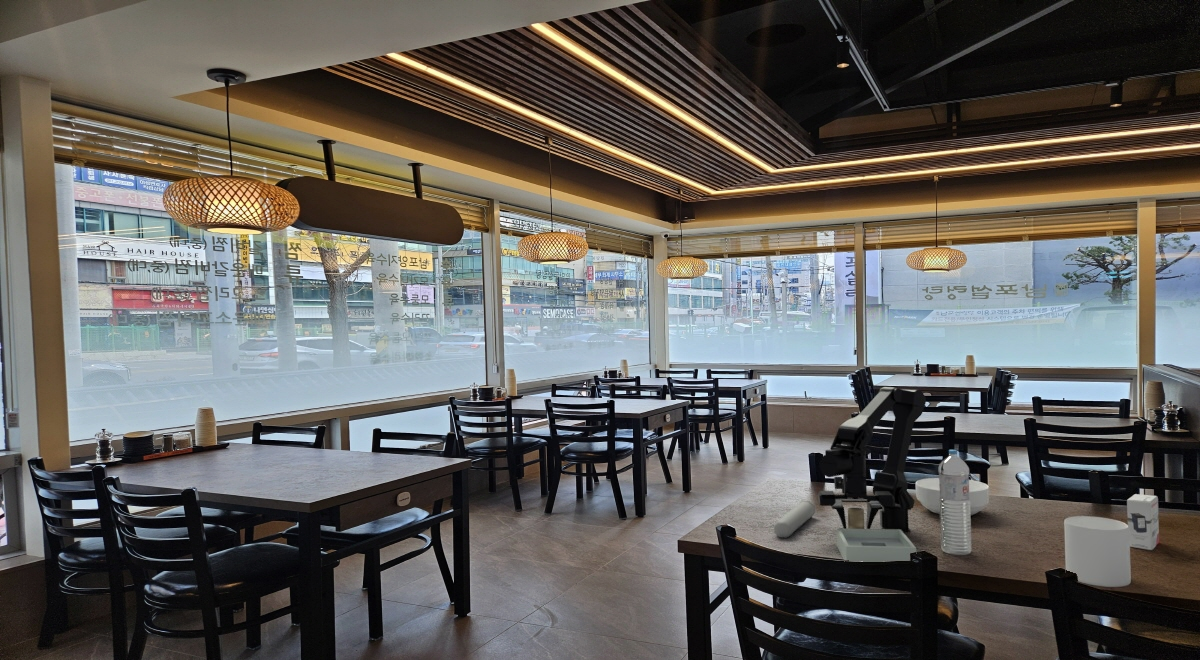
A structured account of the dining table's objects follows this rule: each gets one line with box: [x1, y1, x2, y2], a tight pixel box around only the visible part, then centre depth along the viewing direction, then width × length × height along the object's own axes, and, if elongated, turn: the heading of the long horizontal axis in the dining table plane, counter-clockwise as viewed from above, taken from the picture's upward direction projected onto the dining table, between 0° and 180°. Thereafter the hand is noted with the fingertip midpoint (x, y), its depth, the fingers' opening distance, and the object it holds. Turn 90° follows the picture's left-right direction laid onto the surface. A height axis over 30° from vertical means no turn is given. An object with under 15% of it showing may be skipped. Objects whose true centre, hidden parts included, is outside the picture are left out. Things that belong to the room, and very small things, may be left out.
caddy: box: [836, 528, 917, 562], centre depth 179 cm, size 16×16×4 cm
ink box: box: [1126, 493, 1160, 551], centre depth 182 cm, size 8×5×12 cm, turn 133°
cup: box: [1063, 515, 1132, 588], centre depth 160 cm, size 12×12×12 cm
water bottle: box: [937, 449, 972, 556], centre depth 181 cm, size 7×7×25 cm
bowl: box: [915, 477, 990, 516], centre depth 217 cm, size 20×20×8 cm
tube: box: [773, 499, 816, 539], centre depth 207 cm, size 5×5×25 cm
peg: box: [847, 507, 865, 529], centre depth 193 cm, size 4×4×8 cm
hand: (856, 531), depth 193 cm, fingers open, 5 cm apart
